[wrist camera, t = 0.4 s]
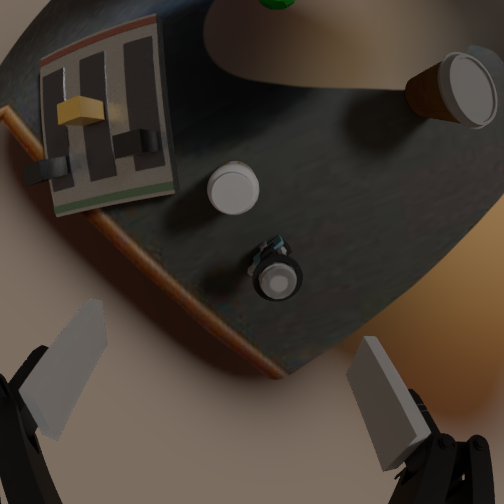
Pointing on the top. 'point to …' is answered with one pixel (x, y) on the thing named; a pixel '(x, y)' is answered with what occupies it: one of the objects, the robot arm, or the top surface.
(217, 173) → the supplement bottle
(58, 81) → the panel
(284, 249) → the push button
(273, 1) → the polyhedron
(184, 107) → the top surface
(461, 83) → the disposable coffee cup
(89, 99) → the block
